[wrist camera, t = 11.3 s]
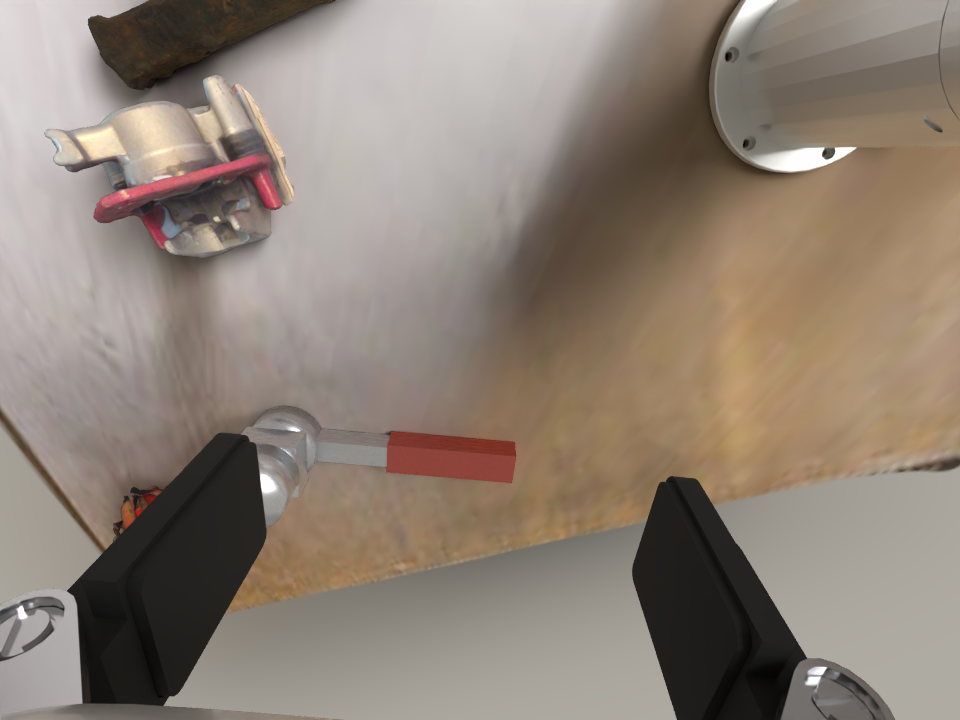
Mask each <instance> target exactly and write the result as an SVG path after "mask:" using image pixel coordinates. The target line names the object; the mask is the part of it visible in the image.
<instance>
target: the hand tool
mask: <svg viewBox="0 0 960 720" xmlns="http://www.w3.org/2000/svg"><path fill="white" fill-rule="evenodd" d="M333 1H335V0H149V1H147V2H145V3H143V4H141V5H139V6H137V7H135V8H132V9H130V10H129V11H126V12H124V13H122V14H119V15H117V16H114V17H111V18H106V17H103V16H99V15H97V16H94V17H90V18H89V19H88V26H89V29H90V31H91V33H92V36H93V38H94V40H95V42H96V44H97V46H98V49H99V51H100V55H101V57H102V58H103V60H104V61H105V63H106V64H107V65H108V66H110V67H111V68H112V69H113V70H114V71H115V72H116V73H117V74H118V75H119V77H120V78H121V79H122V80H123V81H124V82H125V83H126V84H127V86H128V87H130V88H133V89H137V90H144V89H145V88H151V87H153V86H154V85H155V81H156V77H169V76H171V75H172V74H173V73H174V70H175V69H176V68H180V67H182V66H185V65H187V64H189V63H194V62H197V61H199V60H200V59H202V58H204V57H208V56H209V55H210V53H211V52H213V51H215V50H217V49H219V48H221V47H224V46H227V45H230V44H233V43H237V42H239V41H241V40H242V39H243V38H245V37H247V36H249V35H251V34H254V33H256V32H258V31H260V30H262V29H264V28H266V27H269V26H271V25H273V24H275V23H277V22H280V21H282V20H284V19H287V18H289V17H291V16H293V15H294V14H296V13H299V12H302V11H304V10H306V9H308V8H311V7H313V6H315V5H318V4H321V3H325V2H333Z"/></svg>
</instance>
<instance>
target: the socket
mask: <svg viewBox="0 0 960 720" xmlns="http://www.w3.org/2000/svg"><path fill="white" fill-rule="evenodd" d="M241 435H246V436H248V438H249V440H250V442H254V443H255V444H256V447H257V454H258V462H259V471H260V479H261V487H262V496H263V504H264V513H265V521H266V528H267V527H269V526H271V525H273V524H274V523H275V522H277V521H278V519H279V518H280V516H281V514H282V513H283V511H284V509H285V507H286V505H287V503H288V502H289V500H290V498H291V497H293V498H299V497H300V495H301V493H302V491H303V489H304V487H305V485H306V483H307V481H308V479H309V478H308V457H307V436H306V432H301V431H290V430H279V429H268V428H256V427H246V428H245V429H244V431H243V432H242V433H241Z"/></svg>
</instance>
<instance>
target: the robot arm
mask: <svg viewBox="0 0 960 720" xmlns="http://www.w3.org/2000/svg"><path fill="white" fill-rule="evenodd" d="M725 53H727V54H728V56H729V59H728V61H727V62H726V60H725ZM709 102H710V107H711V112H712V117H713V121H714V124H715V126H716V128H717V130H718V132H719V135H720V137H721V139H722V140H723V141H724V143H725V144H726V145H727V147H728V148H729V149H730V151H731V152H733V153H734V154H735V155H736V156H737V157H739V158H740V159H741V160H742V161H744V162H746V163H748V164H750V165H752V166H754V167H756V168H758V169H762V170H767V171H771V172H782V173H795V172H806V171H810V170H814V169H817V168H821V167H824V166H827V165H829V164H831V163H833V162H835V161H837V160H839V159H841V158H843V157H845V156H846V155H848V154H849V153H851V152H852V151H854V150H855V149H857V148H858V147H960V0H740V2H739V3H738V5H737V6H736V8H735V9H734V11H733V12H732V14H731V15H730V17H729V18H728V20H727V22H726V25H725V27H724V29H723V31H722V33H721V35H720V37H719V39H718V42H717V46H716V49H715V52H714V56H713V59H712V64H711V71H710V78H709ZM744 140H745V141H746V144H745V146H744V147H743V141H744ZM822 152H823V154H822ZM266 533H267V531H266V521H265V513H264V504H263V496H262V487H261V479H260V471H259V462H258V454H257V447H256V444H255V443H254V442H250V440H249V438H248V436H246V435H241V434H231V433H218V434H217V435H216V436H215V437H214V438H213V439H212V440H211V441H210V442H209V443H208V444H207V445H206V446H205V447H204V448H203V450H202V451H201V452H200V453H199V454H198V455H197V456H196V457H195V458H194V459H193V460H192V461H191V462H190V463H189V464H188V465H187V466H186V467H185V469H184V470H183V471H182V472H181V473H180V474H179V475H178V476H177V477H176V478H175V479H174V480H173V481H172V482H171V483H170V484H169V485H168V487H167V488H166V489H165V490H164V491H162V492H161V493H160V494H159V495H158V496H157V497H156V498H155V499H154V500H153V501H152V502H151V503H150V504H149V505H148V506H147V507H146V508H145V509H144V510H143V511H142V513H141V514H140V515H139V516H138V517H137V518H136V519H135V520H134V521H133V522H132V523H131V524H130V525H129V526H128V527H127V528H126V529H125V530H124V531H123V533H122V534H121V535H120V536H119V537H118V538H117V539H116V540H115V541H114V542H113V543H112V544H111V545H110V546H109V547H108V548H107V549H106V550H105V551H104V553H103V554H102V555H101V556H100V557H99V558H98V559H97V560H96V561H95V562H94V563H93V564H92V565H91V566H90V567H89V568H88V569H87V570H86V572H85V573H84V574H83V575H82V576H81V577H80V578H79V579H78V580H77V581H76V582H75V583H74V584H73V585H72V586H71V587H70V588H69V589H68V590H67V591H65V590H58V589H42V590H36V591H32V592H29V593H25V594H21V595H18V596H16V597H14V598H12V599H9V600H7V601H5V602H3V603H1V604H0V720H340V719H326V718H315V717H302V716H291V715H279V714H265V713H254V712H242V711H230V710H217V709H201V708H186V707H170V706H164V704H165V702H166V701H167V699H168V697H169V696H175V695H176V694H178V693H179V692H180V690H181V689H182V687H183V686H184V684H185V682H186V680H187V679H188V677H189V675H190V673H191V671H192V670H193V668H194V666H195V664H196V663H197V661H198V659H199V657H200V656H201V654H202V652H203V651H204V649H205V647H206V645H207V644H208V642H209V640H210V638H211V636H212V635H213V633H214V631H215V629H216V628H217V626H218V624H219V623H220V621H221V619H222V617H223V616H224V614H225V612H226V610H227V609H228V607H229V605H230V603H231V602H232V600H233V598H234V596H235V595H236V593H237V591H238V589H239V587H240V586H241V584H242V582H243V580H244V579H245V577H246V575H247V573H248V572H249V570H250V568H251V566H252V565H253V563H254V561H255V559H256V558H257V556H258V554H259V552H260V551H261V549H262V547H263V545H264V542H265V539H266ZM632 576H633V581H634V585H635V588H636V591H637V594H638V597H639V601H640V604H641V607H642V610H643V613H644V616H645V619H646V623H647V626H648V629H649V632H650V635H651V638H652V642H653V645H654V648H655V651H656V654H657V658H658V661H659V664H660V667H661V670H662V673H663V677H664V680H665V683H666V686H667V689H668V692H669V696H670V699H671V702H672V705H673V708H674V711H675V715H676V718H677V720H895V718H894V716H893V714H892V712H891V711H890V709H889V707H888V706H887V705H886V703H885V702H884V701H883V699H882V698H881V697H880V696H879V694H877V692H876V691H874V690H873V689H872V688H871V687H870V686H869V685H868V684H867V683H866V682H865V681H864V680H862V679H861V678H860V677H858V676H857V675H855V674H854V673H853V672H851V671H850V670H848V669H846V668H844V667H842V666H840V665H838V664H836V663H834V662H831V661H827V660H824V659H820V658H818V659H817V658H815V659H814V658H808V659H807V657H806V656H805V654H804V652H803V651H802V649H801V647H800V646H799V644H798V642H797V641H796V639H795V638H794V636H793V634H792V632H791V631H790V629H789V627H788V626H787V624H786V623H785V621H784V619H783V618H782V616H781V614H780V613H779V611H778V610H777V608H776V606H775V604H774V603H773V601H772V599H771V598H770V596H769V595H768V593H767V591H766V589H765V588H764V586H763V584H762V583H761V581H760V580H759V578H758V576H757V575H756V573H755V571H754V570H753V568H752V566H751V565H750V563H749V561H748V560H747V558H746V556H745V555H744V553H743V551H742V550H741V549H740V547H739V546H738V545H737V544H736V543H735V541H734V539H733V538H732V536H731V534H730V533H729V531H728V530H727V528H726V526H725V525H724V523H723V521H722V520H721V518H720V516H719V515H718V513H717V511H716V510H715V508H714V506H713V505H712V503H711V501H710V500H709V498H708V496H707V495H706V493H705V491H704V490H703V488H702V486H701V485H700V483H699V482H698V480H696V479H694V478H684V477H674V476H671V477H669V478H668V479H667V480H666V482H660V484H659V485H658V488H657V491H656V494H655V497H654V501H653V504H652V507H651V510H650V513H649V516H648V519H647V522H646V526H645V529H644V532H643V535H642V538H641V541H640V545H639V547H638V551H637V554H636V557H635V560H634V563H633V568H632Z"/></svg>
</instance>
